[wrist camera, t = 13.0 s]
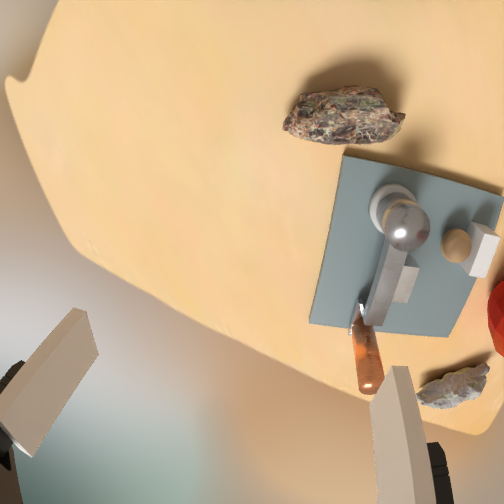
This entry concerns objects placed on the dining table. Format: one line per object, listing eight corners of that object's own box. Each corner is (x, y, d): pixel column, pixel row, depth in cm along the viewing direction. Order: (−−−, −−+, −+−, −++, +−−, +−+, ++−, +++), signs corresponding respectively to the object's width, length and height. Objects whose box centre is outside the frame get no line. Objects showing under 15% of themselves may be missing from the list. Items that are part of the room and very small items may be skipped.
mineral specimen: (411, 399, 52) (416, 425, 46) (412, 377, 49) (420, 405, 43) (477, 380, 48) (487, 403, 42) (483, 356, 45) (495, 381, 39)
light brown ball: (441, 220, 35) (454, 233, 31) (466, 226, 34) (481, 239, 30) (431, 250, 37) (443, 266, 33) (457, 255, 36) (469, 271, 32)
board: (342, 154, 35) (349, 162, 30) (500, 195, 33) (519, 207, 28) (308, 318, 46) (308, 341, 41) (445, 332, 44) (455, 353, 39)
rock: (422, 131, 27) (362, 52, 23) (341, 198, 31) (274, 127, 28) (396, 118, 32) (344, 54, 29) (329, 175, 37) (272, 116, 34)
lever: (378, 185, 34) (410, 223, 23) (423, 194, 33) (468, 234, 22) (341, 329, 43) (348, 393, 33) (380, 332, 43) (394, 395, 32)
